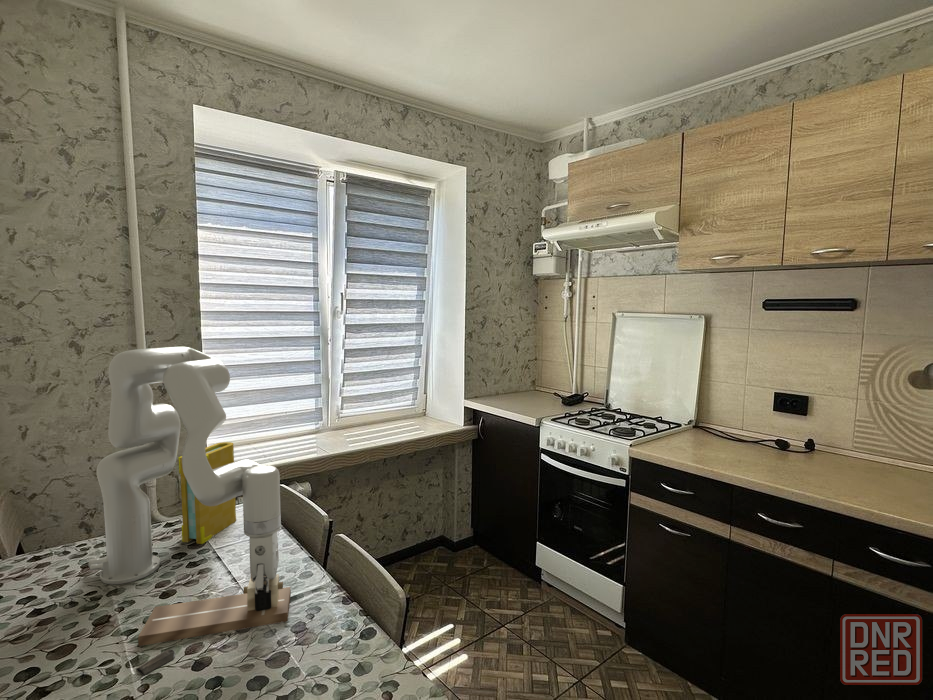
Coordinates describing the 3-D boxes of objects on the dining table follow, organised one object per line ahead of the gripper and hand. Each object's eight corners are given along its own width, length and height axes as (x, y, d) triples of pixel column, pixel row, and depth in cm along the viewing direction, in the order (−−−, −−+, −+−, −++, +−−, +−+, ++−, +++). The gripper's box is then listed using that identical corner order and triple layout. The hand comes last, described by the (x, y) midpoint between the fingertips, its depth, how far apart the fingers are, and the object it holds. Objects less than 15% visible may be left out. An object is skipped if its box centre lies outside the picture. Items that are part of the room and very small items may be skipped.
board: (138, 646, 96) (138, 636, 95) (155, 615, 105) (155, 606, 105) (287, 621, 103) (287, 612, 103) (290, 594, 113) (290, 586, 113)
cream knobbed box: (242, 611, 103) (242, 589, 103) (245, 599, 108) (245, 578, 107) (282, 606, 106) (281, 584, 105) (283, 594, 110) (283, 573, 110)
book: (202, 544, 137) (198, 459, 135) (182, 541, 139) (178, 457, 136) (241, 519, 154) (238, 442, 152) (222, 517, 155) (220, 441, 153)
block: (136, 675, 90) (134, 666, 89) (169, 654, 95) (167, 645, 95) (146, 681, 88) (144, 671, 88) (179, 658, 93) (177, 649, 93)
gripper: (277, 538, 98) (279, 622, 100) (283, 506, 114) (285, 579, 116) (237, 543, 96) (239, 629, 98) (249, 509, 112) (252, 583, 114)
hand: (264, 601), depth 107 cm, fingers closed on cream knobbed box, 4 cm apart
